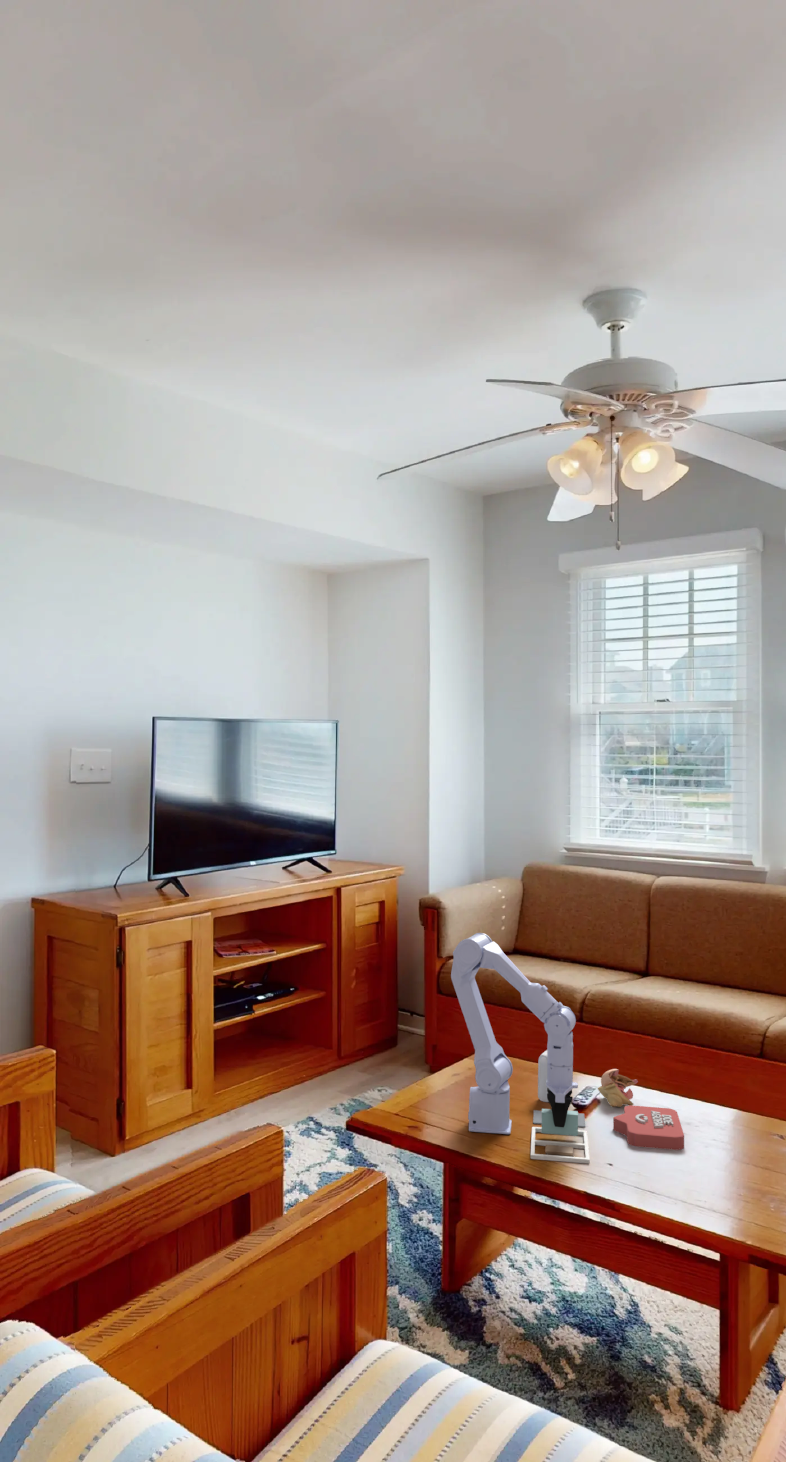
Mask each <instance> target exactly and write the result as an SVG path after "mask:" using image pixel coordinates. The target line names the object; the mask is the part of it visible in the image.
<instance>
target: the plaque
mask: <svg viewBox="0 0 786 1462" xmlns="http://www.w3.org/2000/svg"><path fill="white" fill-rule="evenodd" d="M623 1107H624V1109H623V1111H624V1112H623V1113H621V1114H618V1115H616V1116H614V1117H613V1121H612V1122H613V1124H612V1128H613V1129H612V1130H613V1131H615V1132H616V1133H619V1134H620V1135H623V1136H626V1141H627V1144H628V1145H630V1146H633V1147H637V1148H648V1149H649V1148H651V1149H661V1150H662V1149H664V1150H672V1151H673V1150H675V1151H676V1150H677V1151H678V1150H680V1151H681V1150H683V1149H684V1148H685V1133H684V1131H683V1127H682V1124H681V1120H680V1118H679V1117H680V1116H679V1115H678V1111H677V1110H676V1109H672V1108H669V1107H656V1106H643V1105H625V1106H623Z"/></svg>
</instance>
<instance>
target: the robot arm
mask: <svg viewBox="0 0 786 1462" xmlns="http://www.w3.org/2000/svg"><path fill="white" fill-rule="evenodd" d="M452 951H453V952H452V956H453V959H452V965H451V966H452V967H451V972H450V973H451V974H450V978H451V982H452V985H453V988H454V991H455V993H456V996H457V999H458V1000H457V1001H458V1003H459V1006H460V1008H461V1012H462V1014H463V1017H464V1021H465V1023H466V1028H467V1030H468V1034H469V1035H470V1040H471V1043H472V1045H473V1049H474V1060H473V1064H474V1066H475V1075H474V1076H475V1077H474V1078H475V1082H476V1085H477V1086H470V1088H469V1098H468V1100H469V1101H468V1104H469V1105H468V1114H467V1116H468V1117H467V1119H468V1131H469V1132H475V1133H487V1134H500V1135H501V1134H503V1135H510V1134H511V1131H512V1124H513V1123H512V1119H510V1099H511V1098H510V1096H511V1093H510V1092H511V1090H510V1084H509V1079H511V1076H512V1075H513V1070H514V1068H513V1063H512V1061H511V1060H510V1058H508V1057H507V1055H506V1054H505V1052H504V1049H503V1047H502V1046H501V1045H500V1044H499V1043H498V1042H497V1041H496V1038H495V1037H496V1036H495V1034H494V1032H493V1028H492V1026H491V1022H490V1019H489V1016H488V1013H487V1010H486V1007H485V1005H484V1001H483V999H482V995H481V993H480V989H479V986H478V984H477V981H476V975H477V973H478V972H479V970H480V968H481V969H490V970H494V971H496V972H497V973H498V974H499V975H500V976H501V977H502V978H503V979H504V980H505V981H507V982H508V983H509V984H510V985H511V986H513V988H515V990H517V991H518V992H519V993H520V997H521V1002H522V1003H523V1004H524V1006H525V1007H526V1008H527V1009H529V1011H530V1012H532V1014H533V1015H535V1016H536V1017H537V1018H538V1019H539V1020H540V1022H542V1023H543V1027H544V1030H545V1032H546V1034H547V1045H546V1048H547V1049H546V1050H547V1081H546V1086H547V1087H548V1088H547V1092H548V1093H547V1099H548V1101H549V1102H548V1103H549V1105H550V1108H551V1109H552V1114H553V1121H554V1125H555V1127H564V1126H565V1122H566V1116H567V1112H568V1111H569V1109H570V1105H571V1104H572V1102H573V1096H572V1094H573V1089H578V1088H579V1084H578V1082H576V1081H575V1082H574V1077H573V1075H574V1073H573V1072H574V1067H573V1066H574V1042H573V1039H574V1035H573V1034H574V1033H573V1031H572V1030H573V1029H574V1028H575V1025H576V1023H577V1022H576V1021H577V1019H576V1015H575V1013H574V1012H573V1011H572V1009H571V1007H569V1006H565V1005H563V1003H562V1002H561V1001H559V1002H558V1001H557V1000H556V999H555V998H554V997H553V996H552V994H550V992H548V990H549V988H548V987H547V986H546V985H545V984H544V985H541V984H540V983H539V982H531V981H530V980H529V978H527V977H526V976H525V974H524V973H523V972H522V971H521V970H520V969H519V968H518V967H517V965H516V964H514V962H513V961H512V960H511V959H510V958H509V957H508V955H506V954H505V953H504V951H503V949H502V948H501V947H500V945H499V944H498V943H497V942H495V941H493V940H492V938H491V937H490V936H489V935H488V934H486V933H483V932H476V933H475V934H473V935H471V936H470V937H468V938H465V939H462V940H460V941H459V942H458V944H457V945H456V946H455V948H454V950H452Z"/></svg>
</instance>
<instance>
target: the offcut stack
mask: <svg viewBox="0 0 786 1462" xmlns="http://www.w3.org/2000/svg"><path fill="white" fill-rule="evenodd" d="M574 1149H575V1148H573V1147H567V1146H556V1145H546V1146H545V1149H544V1151H545V1152H544V1153H545V1155H556V1156H569V1157H575V1150H574Z"/></svg>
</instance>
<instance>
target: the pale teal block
mask: <svg viewBox="0 0 786 1462" xmlns="http://www.w3.org/2000/svg"><path fill="white" fill-rule="evenodd" d="M541 1111H542V1124H541V1127H542V1132H541V1134H547V1135H548V1134H549V1135H558V1136H559V1135H562V1136H574V1137H575V1136H576V1137H578V1136H579V1135H578V1130H579V1127H578V1113H579V1112H578V1110H568V1112H567V1116H566V1122H565V1126H564V1127H555V1125H554V1121H553V1114H552V1109H550V1108H541Z"/></svg>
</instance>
